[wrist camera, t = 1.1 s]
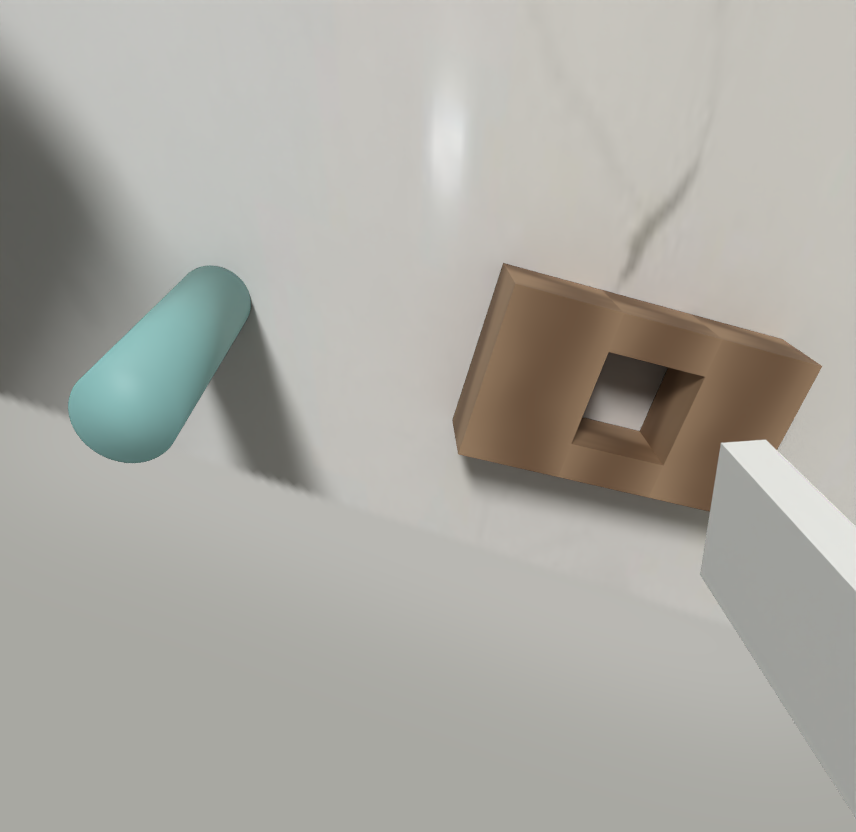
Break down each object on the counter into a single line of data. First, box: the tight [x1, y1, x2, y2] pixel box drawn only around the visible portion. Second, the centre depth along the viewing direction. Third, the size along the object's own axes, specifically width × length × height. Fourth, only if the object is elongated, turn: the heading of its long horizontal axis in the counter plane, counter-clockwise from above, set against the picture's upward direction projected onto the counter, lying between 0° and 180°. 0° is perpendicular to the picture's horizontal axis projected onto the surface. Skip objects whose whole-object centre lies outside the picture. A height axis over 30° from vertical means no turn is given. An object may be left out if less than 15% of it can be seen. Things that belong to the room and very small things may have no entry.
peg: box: [68, 266, 251, 463], centre depth 27 cm, size 3×3×12 cm
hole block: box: [452, 263, 822, 511], centre depth 33 cm, size 14×8×4 cm, turn 74°
